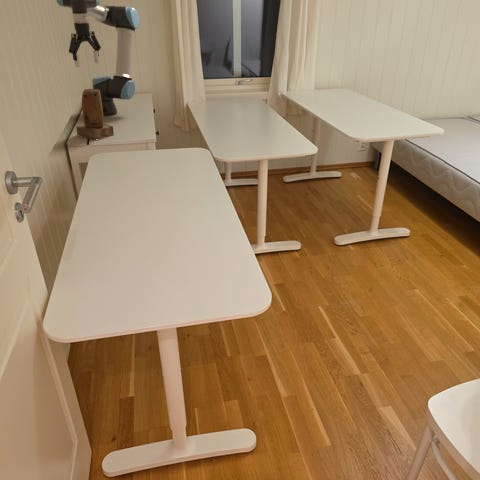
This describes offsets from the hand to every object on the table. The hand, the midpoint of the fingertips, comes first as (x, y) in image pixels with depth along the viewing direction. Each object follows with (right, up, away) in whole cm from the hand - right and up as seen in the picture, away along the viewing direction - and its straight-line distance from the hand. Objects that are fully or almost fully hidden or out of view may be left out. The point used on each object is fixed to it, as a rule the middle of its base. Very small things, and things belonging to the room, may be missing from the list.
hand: (87, 64), depth 246 cm
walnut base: (+2, -37, +8) cm, 38 cm away
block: (+2, -33, +6) cm, 33 cm away
